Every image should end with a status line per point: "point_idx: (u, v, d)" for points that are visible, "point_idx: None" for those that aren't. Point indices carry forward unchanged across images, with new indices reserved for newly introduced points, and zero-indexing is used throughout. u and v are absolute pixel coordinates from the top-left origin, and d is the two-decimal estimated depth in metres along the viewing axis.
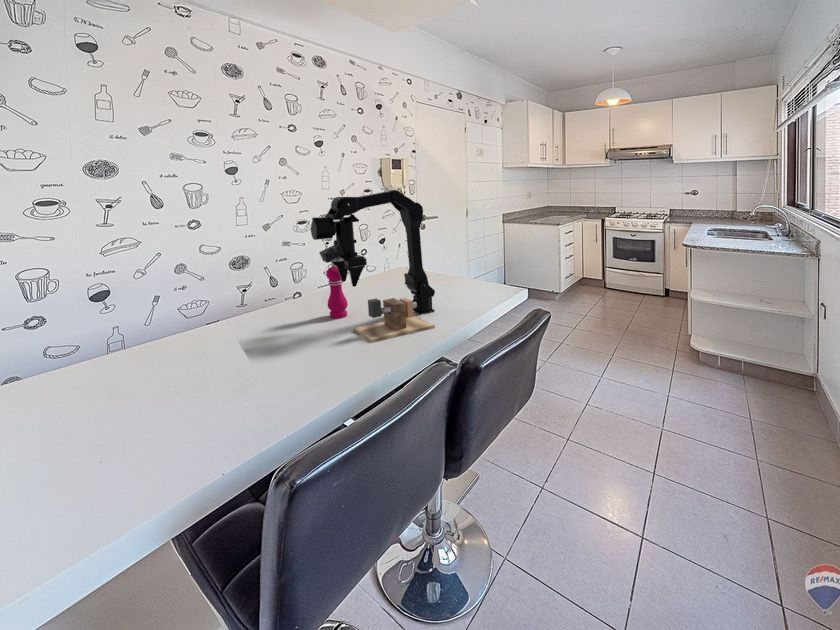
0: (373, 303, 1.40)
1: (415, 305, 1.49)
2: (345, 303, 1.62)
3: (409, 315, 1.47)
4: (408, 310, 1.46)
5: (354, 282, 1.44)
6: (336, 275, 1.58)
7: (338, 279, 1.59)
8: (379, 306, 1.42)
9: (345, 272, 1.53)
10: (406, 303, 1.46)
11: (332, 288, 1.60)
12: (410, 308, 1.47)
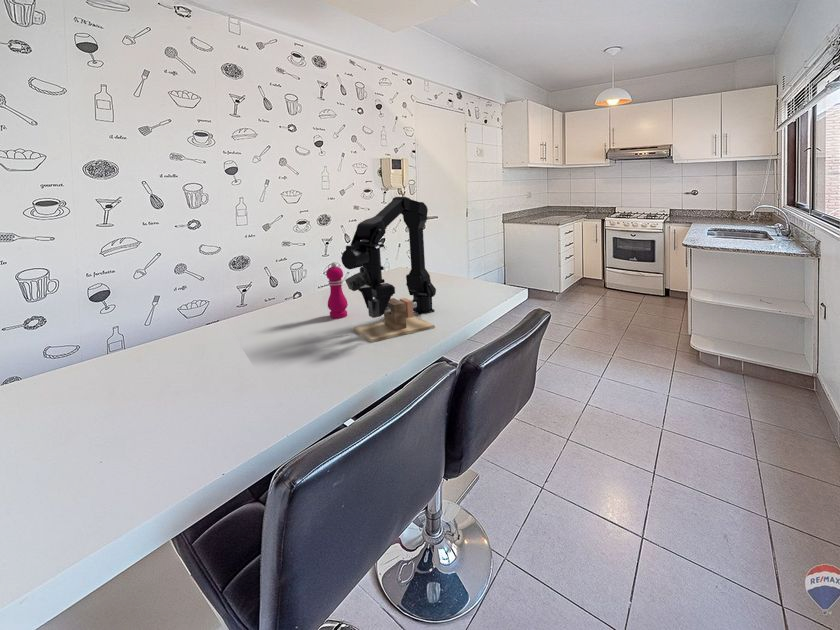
0: (373, 303, 1.40)
1: (415, 305, 1.49)
2: (345, 303, 1.62)
3: (409, 315, 1.47)
4: (408, 310, 1.46)
5: (381, 311, 1.38)
6: (336, 275, 1.58)
7: (338, 279, 1.59)
8: None
9: (370, 299, 1.47)
10: (406, 303, 1.46)
11: (332, 288, 1.60)
12: (410, 308, 1.47)
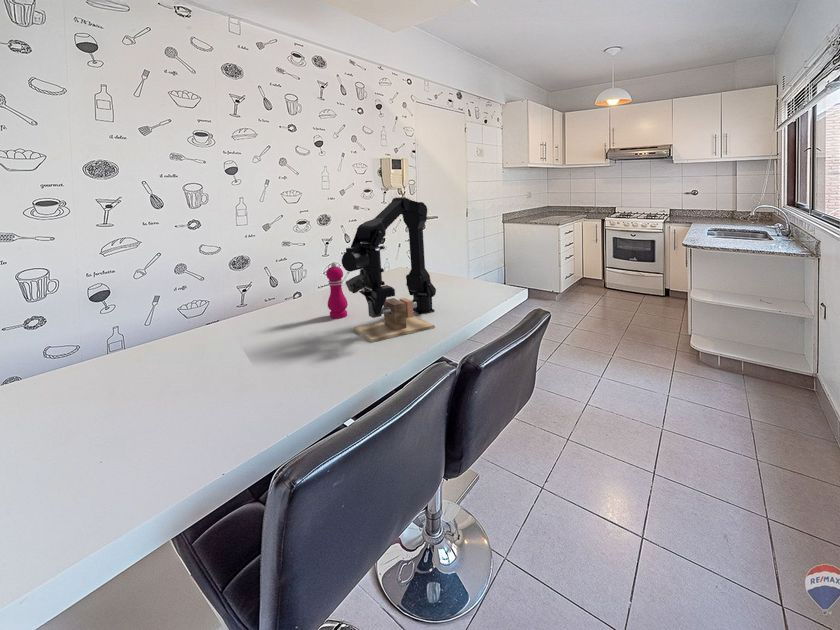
0: None
1: (415, 305, 1.49)
2: (345, 303, 1.62)
3: (409, 315, 1.47)
4: (408, 310, 1.46)
5: (377, 311, 1.41)
6: (336, 275, 1.58)
7: (338, 279, 1.59)
8: None
9: None
10: (406, 303, 1.46)
11: (332, 288, 1.60)
12: (410, 308, 1.47)
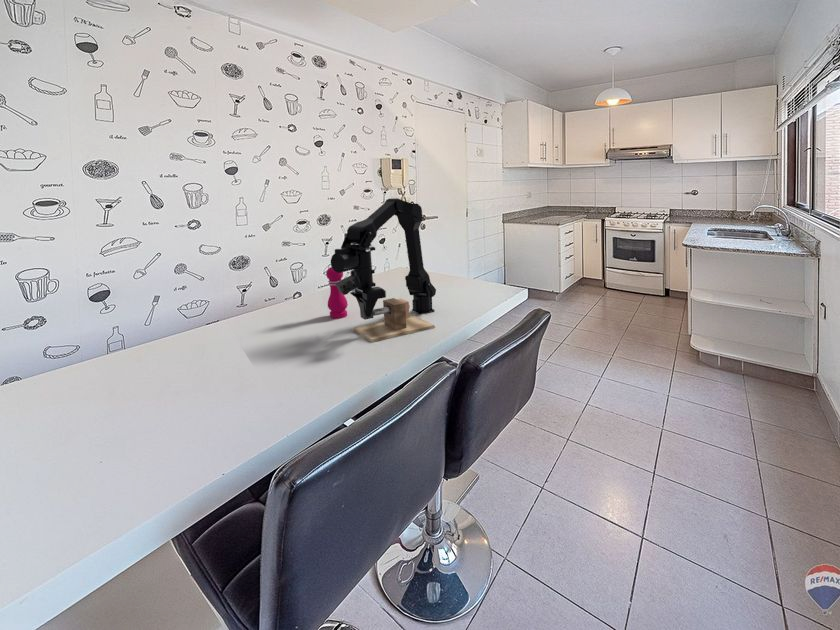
0: None
1: None
2: (345, 303, 1.62)
3: None
4: None
5: (368, 312, 1.39)
6: (336, 275, 1.58)
7: (338, 279, 1.59)
8: None
9: None
10: None
11: (332, 288, 1.60)
12: (406, 309, 1.46)
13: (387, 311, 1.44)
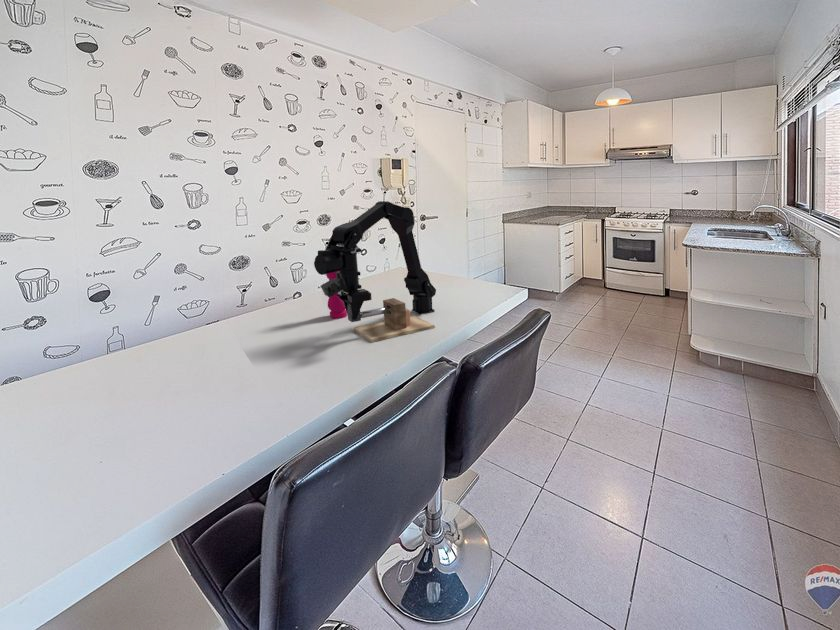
0: None
1: None
2: None
3: (406, 324, 1.47)
4: None
5: (354, 315, 1.37)
6: None
7: None
8: None
9: None
10: None
11: None
12: (407, 317, 1.47)
13: (375, 313, 1.42)
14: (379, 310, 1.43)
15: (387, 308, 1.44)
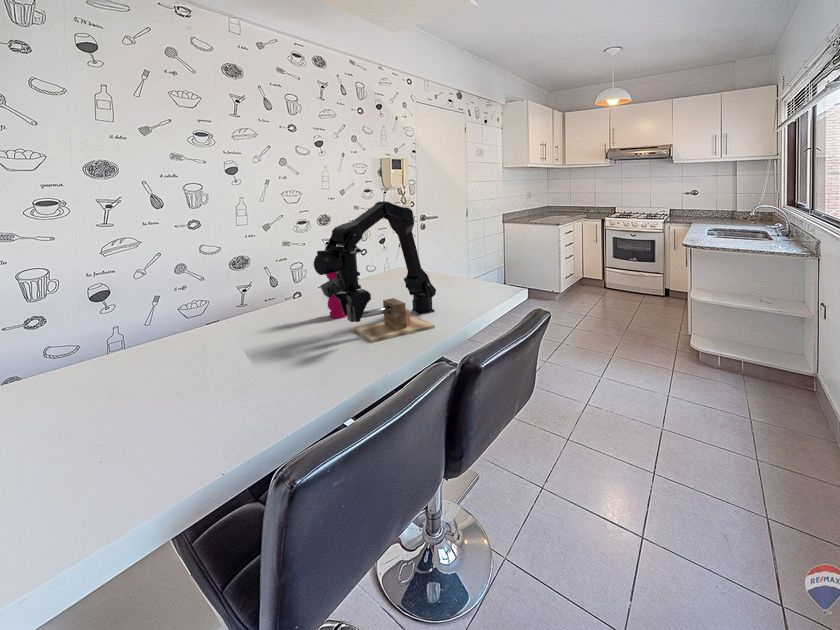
0: (351, 307, 1.37)
1: None
2: None
3: (406, 324, 1.47)
4: None
5: (357, 317, 1.35)
6: None
7: None
8: None
9: None
10: None
11: None
12: (407, 317, 1.47)
13: (375, 313, 1.42)
14: (379, 310, 1.43)
15: (387, 308, 1.44)
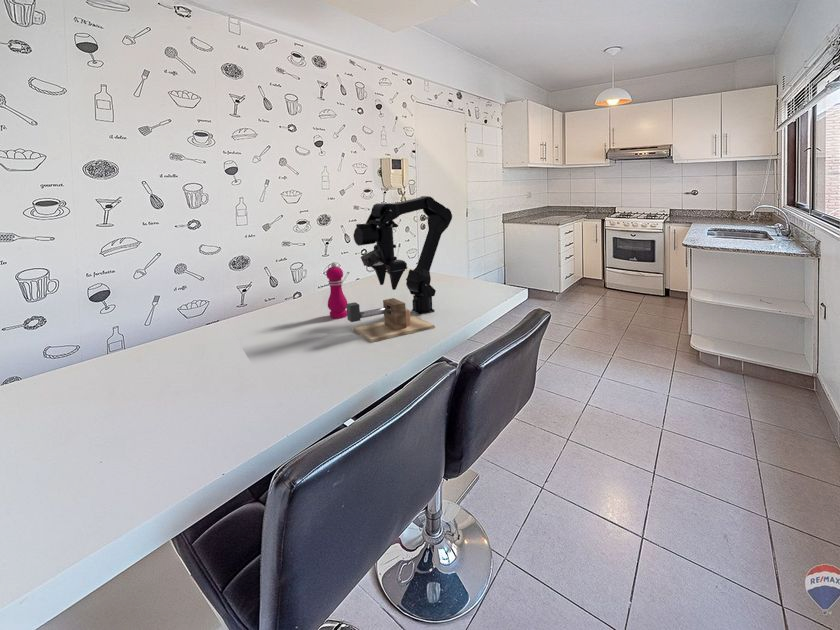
0: (351, 307, 1.37)
1: None
2: (345, 303, 1.62)
3: (406, 324, 1.47)
4: None
5: (394, 285, 1.50)
6: (336, 275, 1.58)
7: (338, 279, 1.59)
8: (358, 310, 1.38)
9: (383, 276, 1.58)
10: None
11: (332, 288, 1.60)
12: (407, 317, 1.47)
13: (375, 313, 1.42)
14: (379, 310, 1.43)
15: (387, 308, 1.44)
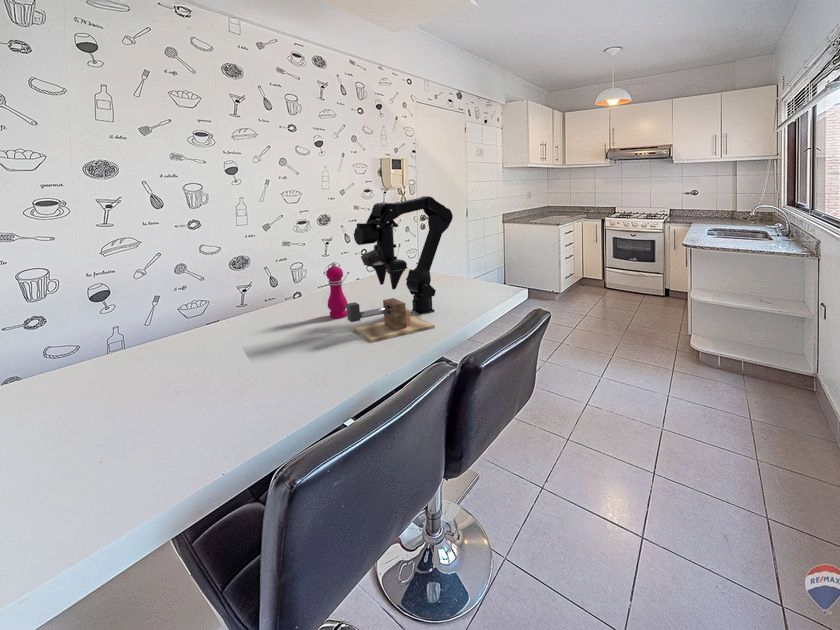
0: (351, 307, 1.37)
1: None
2: (345, 303, 1.62)
3: (406, 324, 1.47)
4: None
5: (394, 285, 1.50)
6: (336, 275, 1.58)
7: (338, 279, 1.59)
8: (358, 310, 1.38)
9: (383, 275, 1.58)
10: None
11: (332, 288, 1.60)
12: (407, 317, 1.47)
13: (375, 313, 1.42)
14: (379, 310, 1.43)
15: (387, 308, 1.44)
